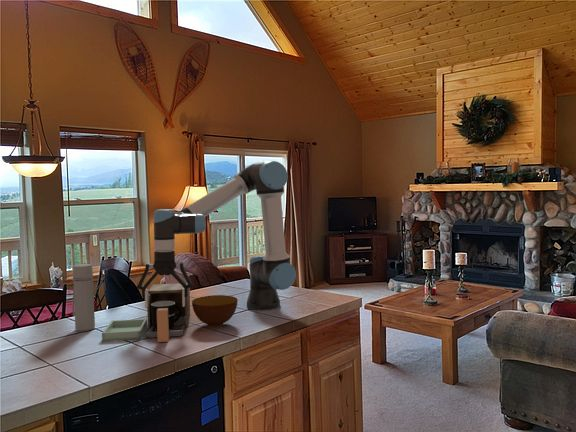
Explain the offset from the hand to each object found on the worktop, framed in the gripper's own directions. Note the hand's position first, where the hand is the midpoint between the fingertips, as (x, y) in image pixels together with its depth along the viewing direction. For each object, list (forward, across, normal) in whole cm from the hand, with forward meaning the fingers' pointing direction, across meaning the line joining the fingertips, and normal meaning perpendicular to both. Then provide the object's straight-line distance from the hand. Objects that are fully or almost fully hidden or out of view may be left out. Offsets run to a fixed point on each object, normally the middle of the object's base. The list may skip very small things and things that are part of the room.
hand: (165, 306), depth 183 cm
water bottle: (+10, +32, -9) cm, 35 cm away
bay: (+9, 0, -12) cm, 15 cm away
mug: (+10, 0, -3) cm, 10 cm away
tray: (+10, +14, 0) cm, 17 cm away
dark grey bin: (+9, 0, +3) cm, 10 cm away
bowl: (+9, -19, -4) cm, 21 cm away
